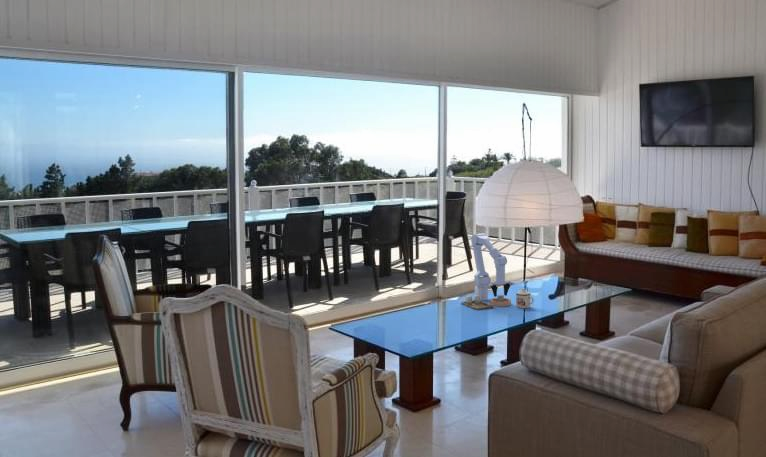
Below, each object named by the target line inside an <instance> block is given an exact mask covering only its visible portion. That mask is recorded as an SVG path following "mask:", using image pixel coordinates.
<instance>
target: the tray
mask: <svg viewBox="0 0 766 457" xmlns="http://www.w3.org/2000/svg"><path fill="white" fill-rule="evenodd" d="M460 305H463V306H465V307H467V308H470V309H473V310H475V311H480V310H482V311H483V310H488V309H489V310H490V309H495V306H493V305H491V304H490V303H487V302H484V301H483V300H480V304H479V305H476V304H474V300H472V305H468V304H466V301H461V302H460Z"/></svg>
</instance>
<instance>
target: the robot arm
mask: <svg viewBox="0 0 766 457" xmlns="http://www.w3.org/2000/svg"><path fill="white" fill-rule="evenodd" d="M470 240H471V246H472V249H473V258H474V262H475V267H476V268H475V269H476V273H475V274H474V276H473V278H474V279H473V280H474V281H473V283H474V285H475V287H474V295H480V301H487V300H489V301H490V298H489V287H490V288H491V291H492V294H493V298H497V295H498V288H499V287H498V286H503V295H504V297H505V296H506V297H507V296H508V292H509V290H510V288H511V285H512V281H511V280H506V265H508V264H507V263H508V258H507V257H506V256H505V255H502V254H501V253H500V251H499V250H498V248H496V247H494V246H493V243H491V241H490V240H489V235H488V234H487V233H486V232H484V233H483V232H482V233H473V234H472V235H471V238H470ZM483 246H484V247H485V248H486V249H487V251H489V252H488V253H489V255H490V257H491V258H492V259H493V262H494V268H495V281H492V282H491V278H490V275H489V273H488V272H487V271H486V267H485V262H484V257H483V252H482V248H483Z"/></svg>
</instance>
